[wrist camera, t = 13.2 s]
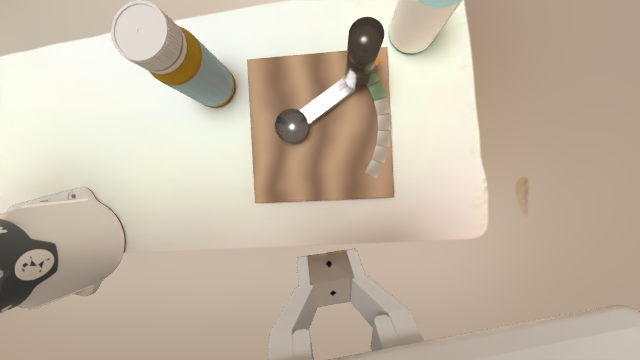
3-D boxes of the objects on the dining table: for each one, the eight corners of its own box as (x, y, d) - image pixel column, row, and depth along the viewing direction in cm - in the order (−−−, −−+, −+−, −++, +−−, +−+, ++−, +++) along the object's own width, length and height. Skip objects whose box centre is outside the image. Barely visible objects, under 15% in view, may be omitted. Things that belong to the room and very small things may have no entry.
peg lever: (290, 150, 36) (268, 138, 24) (271, 125, 36) (241, 101, 24) (387, 77, 34) (413, 29, 23) (368, 51, 35) (384, -10, 23)
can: (378, 36, 36) (399, -32, 24) (408, 1, 36) (445, -88, 24) (412, 64, 36) (451, 9, 24) (443, 29, 35) (498, -46, 23)
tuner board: (257, 202, 38) (254, 203, 37) (250, 63, 38) (246, 58, 36) (392, 196, 36) (394, 197, 35) (385, 51, 36) (387, 46, 35)
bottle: (244, 79, 38) (183, 16, 23) (223, 116, 38) (150, 77, 23) (209, 58, 38) (126, -17, 23) (189, 95, 38) (95, 44, 23)
